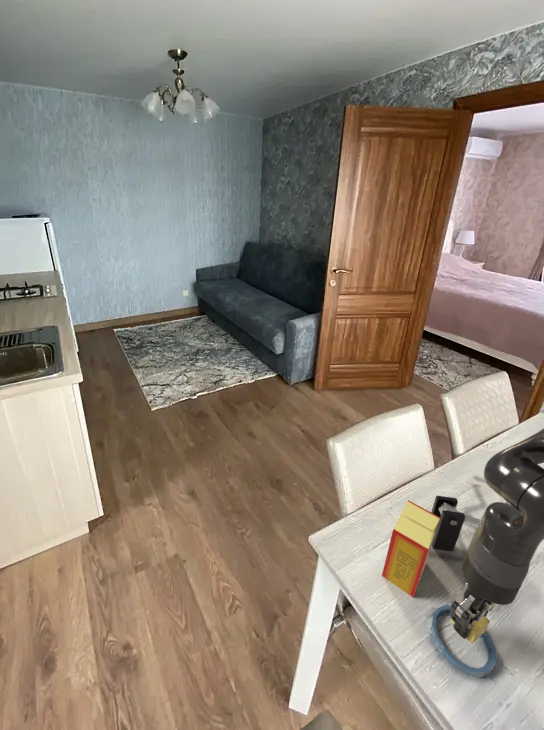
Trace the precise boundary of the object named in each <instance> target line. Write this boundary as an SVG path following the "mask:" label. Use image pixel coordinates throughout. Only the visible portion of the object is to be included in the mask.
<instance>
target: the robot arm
mask: <svg viewBox="0 0 544 730" xmlns="http://www.w3.org/2000/svg"><path fill="white" fill-rule="evenodd" d="M541 464H544V427H543V428H542V429H540V430H539V431H538V432H536V433H534V434H532V435H530V436H528V437H527V438H525V439H523V440H521V441H519V442H517V443H515V444H513V445H510V446H508V447H506V448H504V449H502V450H500V451H498V452H497V453H495V454H494V455H493V456H491V457H490V458H489V459H488V460H487V462H486V464H485V466H484V469H483V478H484V481H485V484H488V486H487V487H489V488H490V489H491V490H493V491H494V492H495V493H496V494H497V495H498V496H499V497H501V499H502V498H504V499H505V500H506V501H507V502H506V503H503V502H502V501H495V502H491V503H490V504H488V506H487V507H486V508H485V510H484V512H483V515H482V517H481V519H480V520H481V522H480V525H479V526H477V529H476V531H475V532H474V534H473V536H472V538H471V540H470V543H469V545H468V548H467V550H466V554H465V556H464V558H463V561H462V564H461V571H462V576H463V578H464V580H465V582H466V583H465V584H464V586H463V587H462V588H463V589H462V590H463V592H462V594H461V596H460V597H459V599H458V601H457V600H456V599H455V600H453V601H452V602H451V605H450V606H451V615H450V616H449V617H450V619H452V620H453V621H454V622H455V623H454V624H453V630H454V631H455V632H456V633H457V634H458V635H459V636H460V637H461V638H462V639H464V640H467V637H468V635H469V633H470V631H471V629H472V628H473V627H474V626H473V625H474V624H475V622H478V621H480V620H481V619H482V618H483V616H485V617H486V618H487V616H488V614H489V613H490V612H492V611H493V610H494V609H495V608H496V607H497V605H500V606H506V605H510V604H512V603H513V602H514V601H515V599H516V597H517V595H518V593H519V591H520V589H521V587H522V586H523V583H524V581H525V579H526V578H527V576H528V573H529V571H530V564H531V561H532V560H533V558H534V556H535V553H536V552H537V549H538V547H539V546H540V544H541V543H542V542H543V541H544V468H543V467H542V466H541ZM477 611H479V613H478V612H477ZM470 618H471V619H470Z"/></svg>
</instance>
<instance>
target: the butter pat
mask: <svg viewBox="0 0 544 730" xmlns="http://www.w3.org/2000/svg"><path fill="white" fill-rule="evenodd" d="M477 612H478V613H479V611H477ZM470 619H471V618H470ZM449 621H450V622H451V623H452V625H454V623H455V622H454V621H453V620H452V619H451V618H450V620H449ZM490 622H491V620H490V619H489V618H488V617H487V616H486V617H485V616H483V618H482V619H481V620H480V621H478V622H475V624H474V625H473V626H474V627H473V628H472V629H471V631H470V633H469V635H468V637H467V638H466V640H467V641H469V643H470V644H471V645H472V644H474V643H475V642H476V641H477V640H478V639H479V638H481V637H480V636H481V635H482V634H483V633H484V632H485V631H486V630H487V629H488V626H489V624H490Z"/></svg>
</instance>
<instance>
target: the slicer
mask: <svg viewBox="0 0 544 730" xmlns="http://www.w3.org/2000/svg"><path fill="white" fill-rule="evenodd" d="M443 502H445V503H448V504H450V505H453V506H455V507H456V508H457V506H458V504H459V503H458V502H459V500H458V498H457V497H451V496H443V495H436V496H435V498H434V501H433V505H432V508H431V511H430V512H431V513H433V514H435V515H437V516H438V517H440V521H439V524H438V528H437V531H436V534H435V537H434V540H433V543H432V547H431V549H433V550H437V551H444V552H449V553H454V550H455V548H456V545H457V542H458V539H459V536H460V533H461V532H462V531H461V530H462V528H463V526H464V523H465V521H464V520H465V515H464V514H465V513H464V512H461V513H459V512H460V511H458V512H452V511H445V510H442V513H441V514H440V511H439V507H440V506H441V505H442V504H443Z"/></svg>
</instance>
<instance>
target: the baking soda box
mask: <svg viewBox="0 0 544 730" xmlns="http://www.w3.org/2000/svg"><path fill="white" fill-rule="evenodd" d="M431 512H432V511H429V510H427V509H425V508H424V507H422V506H420V505H418V504H416V503H414V502H413V501H411V500H407V501H406V503H405V505H404V508H403V509H402V511H401V513H400V515H399V517H398V519H397V521H396V523H395V525H394V527H393V529H392V533H391V537H390V540H389V544H388V549H387V553H386V557H385V561H384V565H383V568H382V573H381V577H382V578H384V579H386V580H387V581H388V582H390V583H391V584H393V585H394V586H395V587H397V588H399V589H400V590H402V591H403V592H404V593H406V594H407V595H408V596H410V597H412V598H415V595H416V592H417V589H418V586H419V584H420V581H421V578H422V576H423V573H424V570H425V568H426V565H427V562H428V559H429V556H430V553H431V550H432V543H433V540H434V537H435V534H436V531H437V528H438V524H439V521H440V517H438V516H437V515H435V514H433V513H431Z"/></svg>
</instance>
